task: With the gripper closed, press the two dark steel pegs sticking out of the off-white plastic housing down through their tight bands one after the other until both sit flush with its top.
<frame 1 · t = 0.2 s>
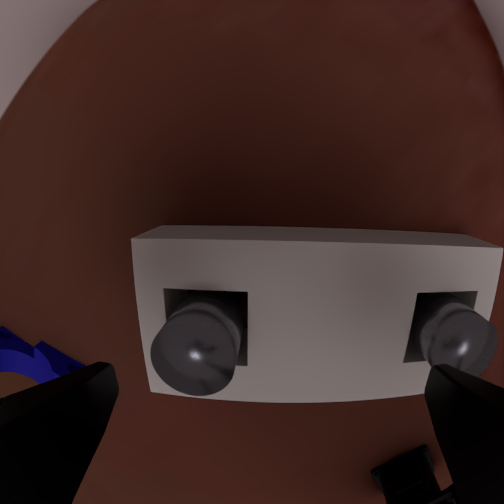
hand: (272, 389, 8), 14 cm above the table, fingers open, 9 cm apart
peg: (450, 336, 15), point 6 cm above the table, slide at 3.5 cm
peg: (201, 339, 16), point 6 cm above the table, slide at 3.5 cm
blue arch block: (43, 356, 25), on the table
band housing: (321, 299, 22), on the table
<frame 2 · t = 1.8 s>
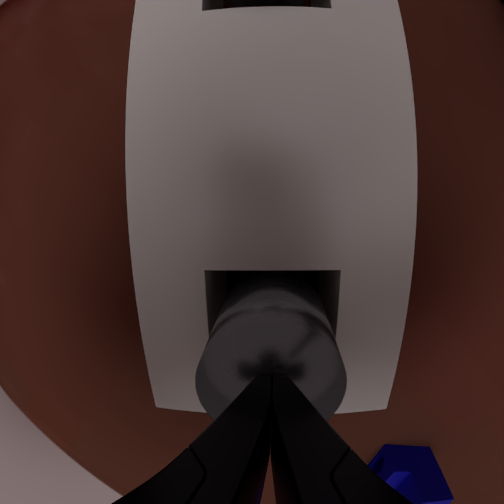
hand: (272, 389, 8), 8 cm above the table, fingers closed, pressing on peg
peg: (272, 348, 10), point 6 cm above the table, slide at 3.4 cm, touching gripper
blue arch block: (368, 487, 20), on the table
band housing: (271, 144, 14), on the table
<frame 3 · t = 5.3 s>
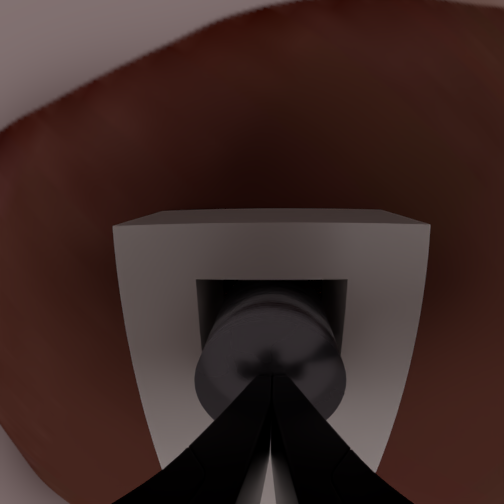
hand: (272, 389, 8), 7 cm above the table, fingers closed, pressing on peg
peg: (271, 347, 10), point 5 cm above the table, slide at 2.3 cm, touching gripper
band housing: (271, 409, 16), on the table
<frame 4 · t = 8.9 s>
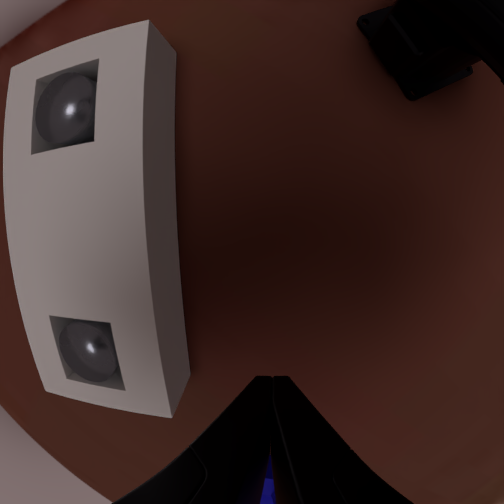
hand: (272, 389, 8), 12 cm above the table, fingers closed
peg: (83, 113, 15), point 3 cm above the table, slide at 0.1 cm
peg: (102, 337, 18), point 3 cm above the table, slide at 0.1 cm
blue arch block: (268, 488, 25), on the table
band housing: (107, 223, 20), on the table
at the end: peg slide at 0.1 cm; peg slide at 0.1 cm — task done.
